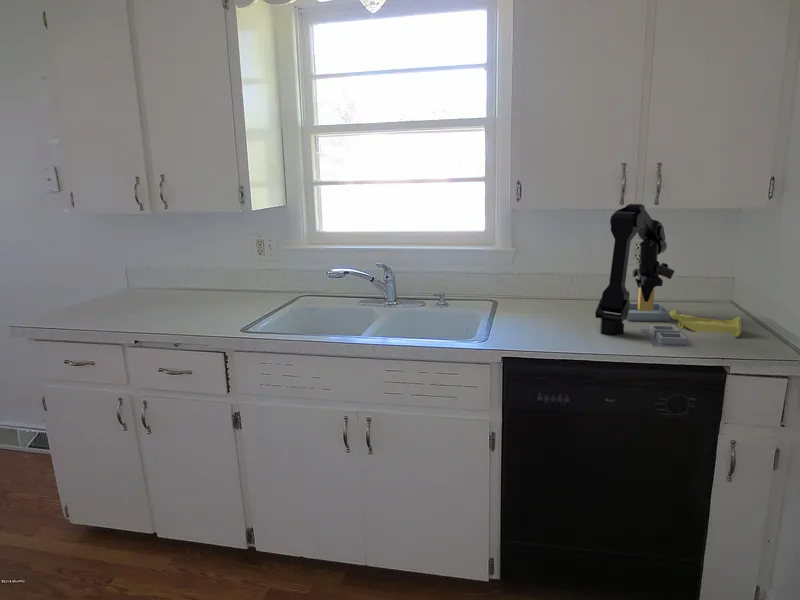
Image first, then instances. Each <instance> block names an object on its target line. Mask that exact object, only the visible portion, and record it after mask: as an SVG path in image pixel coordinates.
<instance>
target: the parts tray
mask: <svg viewBox="0 0 800 600" xmlns="http://www.w3.org/2000/svg"><path fill="white" fill-rule="evenodd" d="M671 318H672V317H671V316H670V311H669V310H668V309H667V308H666V307H664V305H663V304H661V303H653V311H639V310H638V302H637V303H636V302H630V306H629V311H628V317H627V319H626V320H625V321H627V322H658V323H659V322H663V323H670V322H671Z"/></svg>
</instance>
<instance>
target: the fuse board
mask: <svg viewBox="0 0 800 600" xmlns="http://www.w3.org/2000/svg"><path fill="white" fill-rule="evenodd" d="M639 329H640V331H641V332H642V333H643V334H644V336H645V337H646V338H647V340H648V341H649V342H650V344H651V345H652V347H661V348H662V347H663V348H666V347H667V348H689V349H690V348H691V349H692V348H694V349H696V348H698V347H697V345H696V344H695V343H694V342H692V340H690V338H689V337H688V336H686V335H685V333H683V332H682V331H681V329H678V328H677V327H676V326H675V325H663V324H662V325H661V324H660V325H659V324H658V325H657V324H656V325H655V324H650V325H649V328H639Z"/></svg>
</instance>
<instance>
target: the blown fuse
mask: <svg viewBox="0 0 800 600" xmlns="http://www.w3.org/2000/svg"><path fill="white" fill-rule="evenodd" d="M654 298H655V287H654V288H653V290H652V292H651V295H650V298H649V300H648V302H645V301H644V298H643V295H642V291H641V288H640V287H639V288H638V298H637V303H638V310H639V311H653V304H654V300H655V299H654Z"/></svg>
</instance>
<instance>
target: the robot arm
mask: <svg viewBox="0 0 800 600" xmlns="http://www.w3.org/2000/svg"><path fill="white" fill-rule="evenodd" d="M609 224H610V233H611V234H612V236H613V239H614V245H613V252H612V261H611V267H610V275H609V283H608V285H607V287H606V288H605V289H604V290H603V291H602V294H601V298H600V300H599V302H598V305H597V307H596V309H595V312H594V313H595V314H594V317H595V319H599V333H600V334H601V335H604V336H605V335H606V336H620V335H624V333H625V332H624V331H625V329H624V328H625V323H624V321H627V320H626V319H627V317H628V311H629V306H630V303H631V302H630V295H631V294H630V291H628V290H627V288H626V279H627V273H628V272H627V271H628V265H629V258H630V249H631V243H632V240H633V238H634V237H635V236H636V235H637V234H638V237H639V238H640V240H642V241H641V242H640V244H639V246H640V251H639V259H637V263H638V268H634V270H633V271H632V277H634V280H635V282H636V285H637V288H638V289H639V287H640V288H641V291H642V295H643V298H644V301H645V302H648V300H649V298H650V295H651V292H652V290H653V288H654V289H655V288H656V287H662V286H663V284H664V280H663V279H662V278H661V277H660V276H662V277H665V278H667V279H669V280H671V279H672V277H673V275H674V273H675V270H674V269H672V268H670V267H669V264H667V263H665V262H662V263H660V261H658V255H661V254H663V253H664V252H665V251H666V250H667V249H668V248H667V247H668V246H667V242H666V233H665V228H664V226H663V224H662V222H660V221H659V220H656V219H653V218H652V216H650V214H649V213H648V212H647V211H646V208H645V205H644V204H642V203H629V204H627V205H626V206H624V207H622V208H619V209H617V210H615V212H613V214H612V215H611V216H610V220H609ZM636 277H637V278H636Z"/></svg>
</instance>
